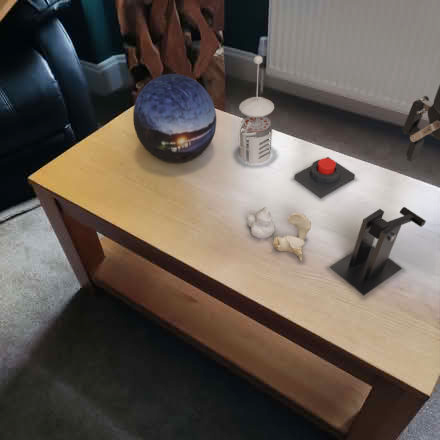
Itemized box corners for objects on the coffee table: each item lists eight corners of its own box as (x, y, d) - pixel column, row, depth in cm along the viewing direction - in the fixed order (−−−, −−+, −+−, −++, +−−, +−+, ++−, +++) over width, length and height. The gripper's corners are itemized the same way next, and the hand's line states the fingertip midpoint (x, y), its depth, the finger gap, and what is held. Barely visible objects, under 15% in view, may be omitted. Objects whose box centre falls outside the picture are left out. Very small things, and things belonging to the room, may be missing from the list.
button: (325, 162, 103) (327, 155, 101) (338, 170, 101) (339, 164, 99) (313, 168, 101) (314, 162, 100) (325, 177, 99) (327, 170, 98)
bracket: (366, 246, 91) (383, 195, 80) (400, 272, 86) (424, 221, 75) (328, 271, 87) (341, 221, 76) (362, 299, 83) (381, 250, 72)
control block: (326, 164, 108) (329, 150, 105) (353, 182, 103) (356, 168, 100) (293, 181, 104) (295, 168, 101) (320, 201, 100) (322, 187, 96)
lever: (401, 214, 86) (407, 204, 84) (422, 228, 83) (428, 217, 81) (361, 228, 78) (367, 217, 77) (383, 243, 76) (389, 232, 74)
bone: (284, 269, 86) (278, 220, 82) (269, 261, 91) (263, 216, 88) (321, 258, 88) (316, 210, 84) (304, 251, 94) (300, 206, 90)
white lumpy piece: (266, 246, 92) (268, 219, 85) (240, 234, 94) (240, 206, 88) (279, 231, 94) (282, 203, 88) (254, 220, 97) (255, 192, 90)
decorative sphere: (233, 152, 112) (232, 75, 96) (177, 190, 104) (166, 113, 88) (181, 125, 121) (172, 50, 105) (126, 158, 112) (107, 81, 96)
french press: (281, 153, 111) (290, 52, 91) (257, 177, 106) (262, 75, 86) (248, 141, 115) (250, 41, 95) (224, 164, 109) (221, 63, 89)
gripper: (534, 87, 59) (482, 182, 72) (445, 51, 66) (412, 143, 79) (502, 107, 56) (454, 201, 69) (413, 67, 64) (384, 160, 77)
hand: (431, 170), depth 74 cm, fingers open, 8 cm apart
